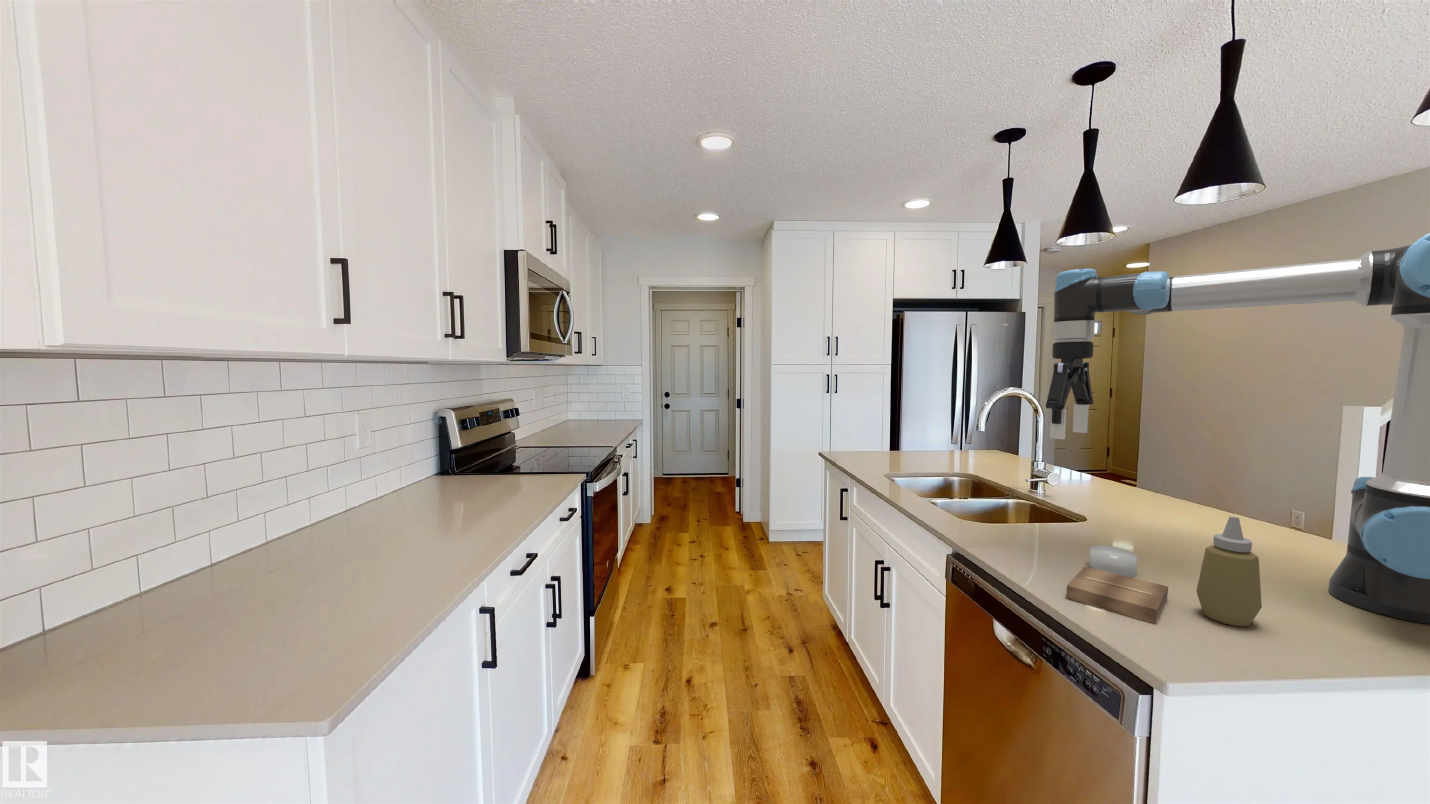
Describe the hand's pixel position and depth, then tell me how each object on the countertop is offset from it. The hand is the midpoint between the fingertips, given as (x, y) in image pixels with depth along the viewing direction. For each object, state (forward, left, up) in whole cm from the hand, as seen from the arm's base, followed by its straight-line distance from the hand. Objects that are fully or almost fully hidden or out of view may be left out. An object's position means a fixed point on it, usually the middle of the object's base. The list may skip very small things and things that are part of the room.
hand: (1069, 435), depth 117 cm
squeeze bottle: (-28, +14, -28) cm, 42 cm away
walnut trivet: (-13, +19, -28) cm, 36 cm away
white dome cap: (-10, +3, -28) cm, 29 cm away
